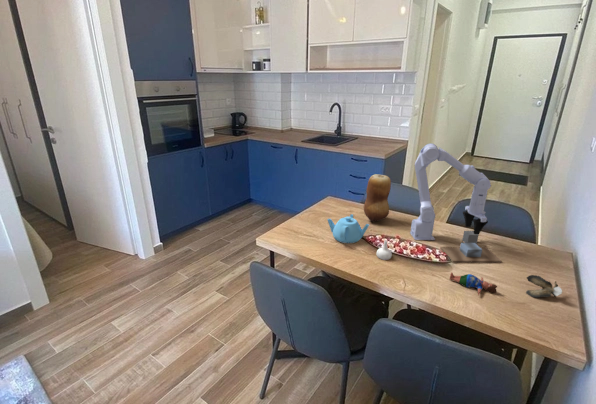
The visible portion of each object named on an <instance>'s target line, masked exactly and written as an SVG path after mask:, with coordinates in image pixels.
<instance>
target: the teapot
mask: <svg viewBox="0 0 596 404" xmlns="http://www.w3.org/2000/svg"><path fill="white" fill-rule="evenodd" d="M327 223H328V225H329V228H330V231H331V233H332V236H333V238H334V239H335V240H336V241H337V242H339V243H343V244H355V243H357V242H359V241H360V240H361V239H362V238H363V237H364V234H365V233H366V231H367V230H368V228H369V227H370V224H369V223H366V224H365V225H364V227H363V228H362V227H361V225H360V224H359V222H358V220H357V219H355V218H354V214H349V216H348V215H347V216H345V217H341V218H339V220H338V221H337V222H336V224H335V222H334V221H333V219H332V218H327Z"/></svg>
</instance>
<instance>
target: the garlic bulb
mask: <svg viewBox="0 0 596 404" xmlns="http://www.w3.org/2000/svg"><path fill="white" fill-rule="evenodd" d="M375 254H376V257H377V258H378V259H380V260H383V261H388V260H391V258H392V257H393V256H392V254H393V253H392V251H391V249H389V248H388V240H387V239H384V241H383V244H382V247H380V248H378V249H377V251H376V253H375Z"/></svg>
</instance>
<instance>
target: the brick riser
mask: <svg viewBox="0 0 596 404" xmlns="http://www.w3.org/2000/svg"><path fill="white" fill-rule="evenodd" d="M439 249H440V250H441V252H442V253H444V252H445V253H446V254H447V255H448V256H449V257H450V259H451V261H452V262H451V261H450V262H451V263H453V264H457V263H458V264H469V263H470V264H477V263H478V264H480V263H481V264H486V263H487V264H491V263H494V264H500V263H501V264H502V262H503V261H502V259H500V258H499V256H497V255H496V254H495V253H494V252H493V251H491V250H490V249H489V248H488V247H486V246H479V245H478V243H477V244H476V243H465V242H461V243H460V246H440V248H439ZM450 259H449V260H450Z"/></svg>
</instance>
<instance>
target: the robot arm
mask: <svg viewBox="0 0 596 404" xmlns="http://www.w3.org/2000/svg"><path fill="white" fill-rule="evenodd" d="M434 161H438V162H445V163H447V164H448V165H449V166H451V167H452V168H454V169H456V170H457V171H458V175H459V176H460V177H461V178H463V179H464V180H465V181H466V182H469V183H470V184H471V185H473V189H472V192H471V197H470V201H469V202H470V203H469V205H465V211H462V215H463V217H464V225H465V228H471V226H472V224H473V231H474V234H478V235H480V234H481V231H482V230H483V228H484V227H485V226H486V225H487V224H488V218H487V216H486V213H487V212H486V211H485V206H486V201H487V196H488V191H489V189H490V188H491V187H492V185H491V180H490V179H489V178H488V177H487V176H486V175H485V174H484V172H480V171H479V170H477V169H476V166H474V165H473V164H471V165H470V164H463V163H462V162H461V161H460V160H458V159H457V158H456V157H454V156H453V155H452V154H450V153H449V152H448V151H447V150H445V149H443V148H442V147H440V146H437V145H436V144H435V143H427V144H426V145H424V146H423V147H422V148H421V150H420V151H419V153H418V156H417V158H416V159H415V162H414V171H415V177H416V183H417V189H418V194H419V201H420V207H419V212H420V215H419V216H418V218H414V219H412V220H411V227H410V232H409V234H410V235H411V237H412V238H413V239H414V240H415V241H435V240H436V238H435V237H434V236H433V231H434V225H435V221H436V220H435V219H436V213H435V207H434V206H433V205H432V201H431V193H430V187H429V181H428V175H427V167H429V165H430V164H432V163H433V162H434ZM475 217H476V218H475Z"/></svg>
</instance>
